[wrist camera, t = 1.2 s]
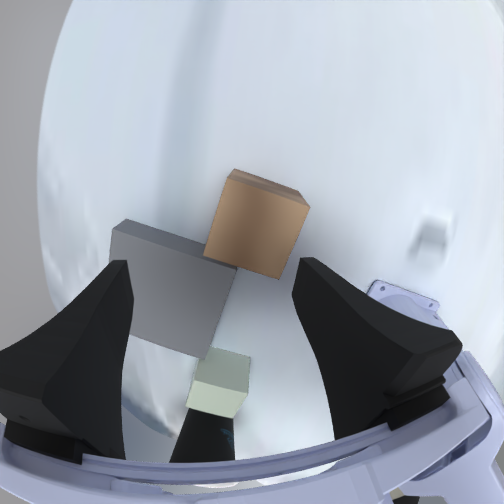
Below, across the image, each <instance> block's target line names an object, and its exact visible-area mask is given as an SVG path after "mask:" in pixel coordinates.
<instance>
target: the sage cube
mask: <svg viewBox="0 0 504 504" xmlns="http://www.w3.org/2000/svg"><path fill="white" fill-rule="evenodd" d="M249 367H250V357H248V356H245V355H241V354H237V353H233V352H230V351H226V350H222V349H219V348H215V347H212V346H210V347H209V350H208V352H207V355H206V358H205V360H204V359H200V358H198V360H197V363H196V366H195V369H194V372H193V376H192V380H191V384H190V389H189V393H188V397H187V401H186V405H185V407H189V408H192V409H196V410H199V411H203V412H207V413H211V414H215V415H219V416H224V417H228V418H233V417H234V416H235V414H236V413H237V411H238V409H239V408H240V406H241V405H242V403H243V401H244V400H245V398H246V397H247V395H248V388H249Z"/></svg>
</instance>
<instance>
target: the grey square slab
mask: <svg viewBox="0 0 504 504" xmlns="http://www.w3.org/2000/svg"><path fill="white" fill-rule="evenodd" d="M205 246H206V245H205V244H202V243H199V242H196V241H192V240H189V239H186V238H183V237H180V236H177V235H174V234H171V233H168V232H165V231H162V230H159V229H156V228H153V227H150V226H147V225H144V224H141V223H138V222H135V221H132V220H129V219H125V220H124V221H122V222H121V223H120V224H118V225H117V226H115V227H114V228H113V229H112V236H111V245H110V255H109V263H110V262H111V261H112V260H127V263H128V269H129V274H130V280H131V285H132V290H133V295H134V307H133V317H132V323H131V328H130V332H129V334H131V335H133V336H136V337H138V338H141V339H144V340H146V341H149V342H152V343H155V344H157V345H160V346H163V347H166V348H169V349H172V350H175V351H178V352H181V353H184V354H187V355H190V356H194V357H197V358H200V359H204V360H205V358H206V355H207V352H208V350H209V347H210V344H211V341H212V338H213V335H214V333H215V330H216V327H217V324H218V321H219V318H220V316H221V313H222V310H223V307H224V304H225V302H226V299H227V296H228V293H229V290H230V288H231V285H232V282H233V279H234V276H235V274H236V271H237V266H234V265H231V264H228V263H225V262H222V261H219V260H216V259H212V258H209V257H206V256H203V253H204V250H205Z"/></svg>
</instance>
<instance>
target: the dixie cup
mask: <svg viewBox="0 0 504 504" xmlns="http://www.w3.org/2000/svg"><path fill="white" fill-rule="evenodd" d="M233 460H235V450H234V430H233V418H228V417H224V416H219V415H215V414H211V413H207V412H203V411H199V410H196V409H192V408H189V410H188V413H187V415H186V418H185V421H184V423H183V426H182V429H181V432H180V434H179V437H178V440H177V442H176V445H175V448H174V450H173V453H172V456H171V459H170V461H169V463H206V462H222V461H233ZM237 483H238V482H231V483H219V484H199V485H196V486H202V487H210V488H211V487H212V488H224V487H231V486H234V485H236V484H237Z"/></svg>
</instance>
